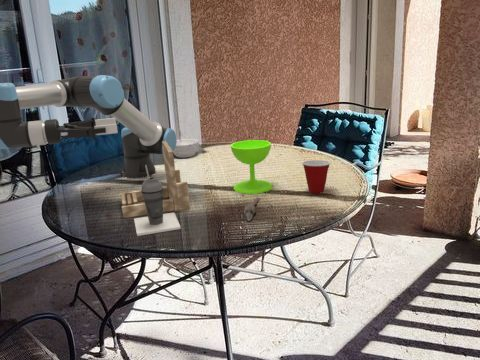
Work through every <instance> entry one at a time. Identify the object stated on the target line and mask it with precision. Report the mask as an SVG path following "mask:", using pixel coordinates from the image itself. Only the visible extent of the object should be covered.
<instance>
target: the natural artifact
mask: <svg viewBox="0 0 480 360" xmlns="http://www.w3.org/2000/svg"><path fill="white" fill-rule="evenodd" d="M259 201H260V197H258V196H257V197H256V198H255V199H254V200H253V201H251V202H250V203H248V204H247V205H245V206H244V208H243V209H244V211H243V214H244V217H246V220H247V222H251V221H252V220H253V218H254V215H255V213H256V209H257V208H256V205H257V203H258V202H259Z"/></svg>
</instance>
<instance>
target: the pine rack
mask: <svg viewBox="0 0 480 360" xmlns="http://www.w3.org/2000/svg"><path fill="white" fill-rule="evenodd" d="M162 148H163V154H162V155H163V165H164V172H165V173H164V175H165V182H166V186H163V195H162V196H163V213H166V212H167V213H168V212H172V211H174V212H181V211H187V210H190V209H191V206H190V205H191V204H190V194H189V186H188V185H189V183H188V181H182V179H181V171H180V169H176V166H175V157H174V155H175V154H174V153H173V151H172V149H171V148H170V146H169V145H168V144H167V142H166V141H162ZM132 192H135V194H136V198H137V203H138V202H139V203H138V204H133V197H132ZM121 194H125V201H126V206H123V204H122V196H121ZM129 194H130V197H131V202H132V205H128V200H127V195H129ZM119 196H120V203H121V211H122V217H123V218H122V219H127V218H133V217H134V218H135V217H139V216H148V215H147V211H146V206H145V202H144V198H143V195H142V192H141V190H134V191H127V192H120V193H119ZM165 198H166V199H165ZM167 198H169V199H167ZM140 202H141V203H140ZM142 202H143V203H142Z"/></svg>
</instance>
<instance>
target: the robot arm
mask: <svg viewBox="0 0 480 360" xmlns="http://www.w3.org/2000/svg"><path fill="white" fill-rule="evenodd" d="M122 87H123V85H122V84H121V82H120V80H118V78H116V77H114V76H112V75H105V74H101V75H83V76H82V75H80V76H73V77H69V78H63V79H59V80H58V79H57V80H52V81H50V82H49V83H44V84H32V85H23V86H15V84H14V83H12V82H0V150H7V149H8V150H11V149H18V148H19V149H20V148H27V147H34V146H35V147H36V148H41V146H44V145H47V144H49V145H56V144H60V143H62V139H67V138H69V139H70V138H73V139H74V138H92V139H96V137H97V136H101V135H102V136H103V135H104V136H105V135H111V134H112V135H113V134H119V133H118V131H119V130H118V124H117V122H118V123H119V124H121V125H122V126H124V127H123V128H122V129H121V131H120V132H121V133H120V135H121V136H120V137H121V138H120V139H121V143H122V150H123V155H124V156H123V158H124V162H123V168H122V176H123V177H124V178H125V177H127V178H126V179H142V178H148V176H147V172H146V167H145V165H147V169H148V173H149V177H150V176H154V175H155V174H156V173H157V172H156V167H155V164H154V162H153V160H152V158H151V155H150V154H152V155H163V148H162V141H166V142H167V144H168V145H169V146H170V148H171V149H172V151H174V149H175V147H176V140H178V139H177V134H176V131H175V130H174V129H173V128H171V127H168V128H165V127H164V126H163V125H161V124H160V123H159V122H158V121H157V122H156V121H151V120H150V119H149V118H148V117H147V116H146V115H145V114H143V113H142V112H141V111H140V110H139V109H137V108H136V107H135V106H134V105H133V104H132V103H130V101H128V100H127V99H126V98H125V90H124V89H123V88H122ZM48 106H54V107H56V108H60V107H73V108H85V109H87V108H91V109H95V110H96V111H98V112H99V113H100V114H102V115H104V116H110V117H111V118H110V117H108V118H101V119H98V118H97V119H96V118H95V117H91V119H85V120H79V121H73V122H65V123H63V125H60V123H59V120H58V119H57V118H53V119H45V120H44V121H43V120H42V119H40V120H33V121H32V120H31V121H25V122H24V121H23V117H22V112H21V110H25V109H34V108H41V107H48ZM116 121H117V122H116Z"/></svg>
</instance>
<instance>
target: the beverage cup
mask: <svg viewBox="0 0 480 360" xmlns="http://www.w3.org/2000/svg"><path fill="white" fill-rule="evenodd" d="M145 167H146V172H147V176H148V177H147V178H146V179H145V180H144V181H143V182H142V183H141V192H142V195H143V198H144V201H143V203H145V206H146V211H147V215H146V216H147V217H148V220H149V223H150V224H151V225H158V224H161V223H163V214H164V212H163V200H164V198H163V196H162V195H163V187H164V186H163V184H162V182H161V181H160V179H157V178H156V177H150V176H149V173H148V169H147V165H145Z"/></svg>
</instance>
